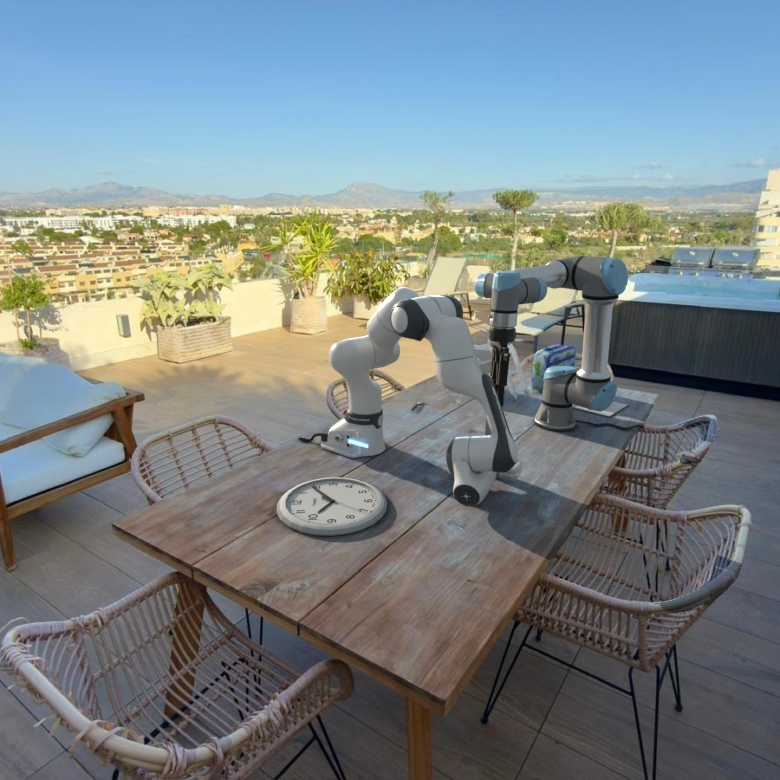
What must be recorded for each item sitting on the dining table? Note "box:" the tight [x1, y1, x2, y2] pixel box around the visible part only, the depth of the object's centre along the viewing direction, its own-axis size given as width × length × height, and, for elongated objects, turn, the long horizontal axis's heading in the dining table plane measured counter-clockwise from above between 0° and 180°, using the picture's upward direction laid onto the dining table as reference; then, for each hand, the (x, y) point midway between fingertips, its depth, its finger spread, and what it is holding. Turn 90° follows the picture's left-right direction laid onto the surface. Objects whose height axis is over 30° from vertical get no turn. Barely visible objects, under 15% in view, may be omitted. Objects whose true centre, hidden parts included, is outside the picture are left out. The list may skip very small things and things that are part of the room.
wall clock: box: [276, 476, 388, 537], centre depth 142 cm, size 30×2×30 cm
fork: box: [410, 395, 425, 412], centre depth 222 cm, size 3×16×2 cm, turn 160°
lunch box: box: [530, 344, 577, 392], centre depth 247 cm, size 26×11×21 cm, turn 134°
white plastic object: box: [474, 342, 531, 400], centre depth 245 cm, size 37×45×31 cm
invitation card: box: [573, 400, 629, 418], centre depth 226 cm, size 21×1×15 cm
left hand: (492, 453), depth 162 cm, fingers closed on bottle, 5 cm apart
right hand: (496, 403), depth 156 cm, fingers closed on cap, 4 cm apart
